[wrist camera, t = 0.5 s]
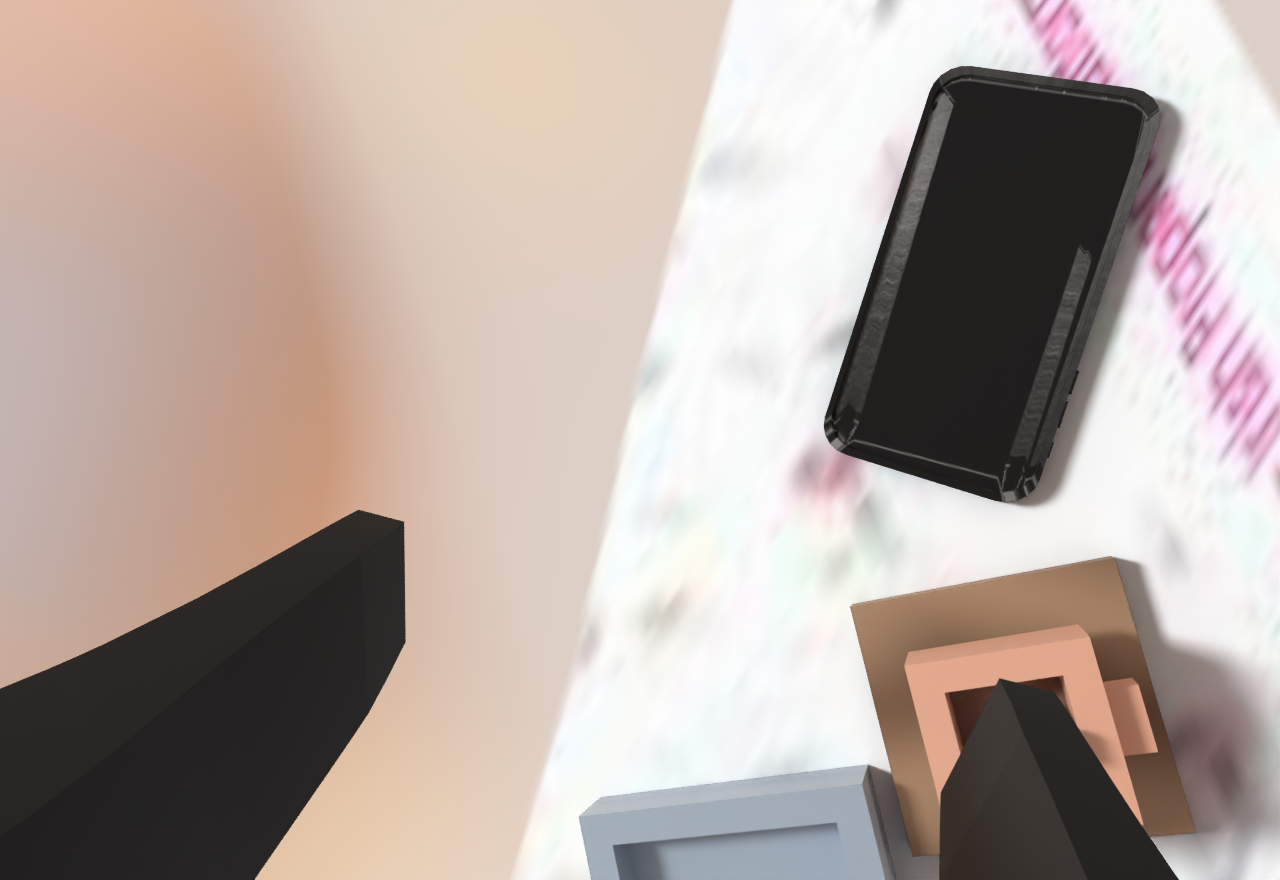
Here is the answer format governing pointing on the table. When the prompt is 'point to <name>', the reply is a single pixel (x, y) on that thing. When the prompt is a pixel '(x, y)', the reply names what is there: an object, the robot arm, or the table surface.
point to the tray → (743, 831)
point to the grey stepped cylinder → (974, 700)
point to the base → (997, 612)
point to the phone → (990, 277)
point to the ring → (1095, 706)
